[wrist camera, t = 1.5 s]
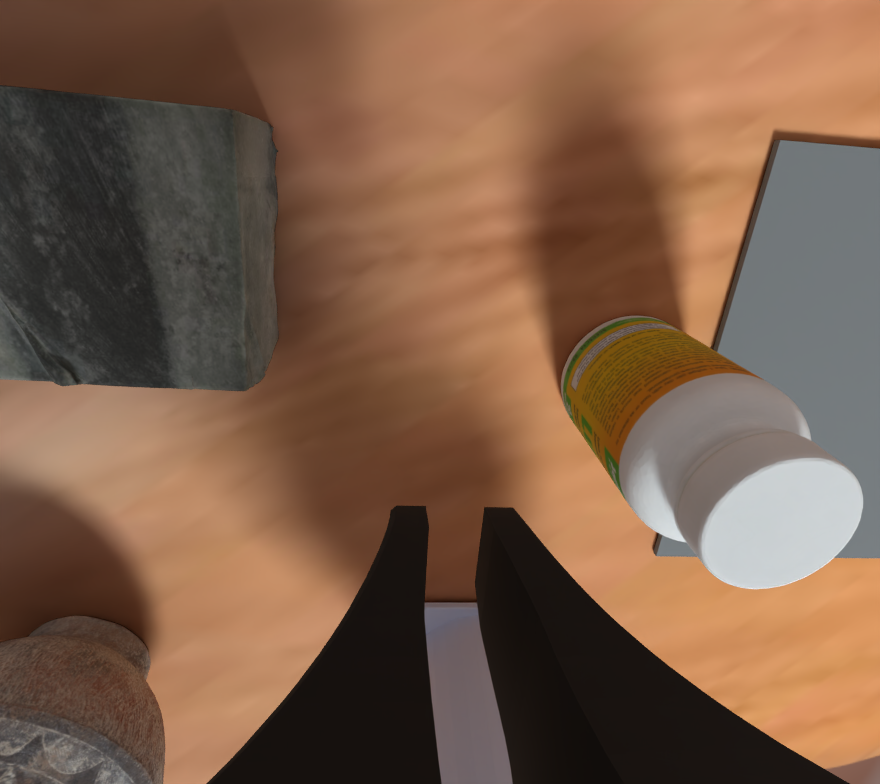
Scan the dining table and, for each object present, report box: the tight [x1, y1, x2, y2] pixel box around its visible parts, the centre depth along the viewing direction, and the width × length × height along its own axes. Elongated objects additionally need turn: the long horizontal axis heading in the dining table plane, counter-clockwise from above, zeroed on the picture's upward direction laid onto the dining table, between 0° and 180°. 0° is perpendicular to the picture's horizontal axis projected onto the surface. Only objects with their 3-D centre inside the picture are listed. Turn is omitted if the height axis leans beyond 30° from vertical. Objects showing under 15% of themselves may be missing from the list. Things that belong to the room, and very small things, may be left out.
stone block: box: [0, 85, 279, 391], centre depth 16 cm, size 9×14×5 cm, turn 85°
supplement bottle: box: [561, 316, 863, 589], centre depth 17 cm, size 5×5×10 cm
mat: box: [654, 140, 880, 558], centre depth 22 cm, size 18×14×1 cm
